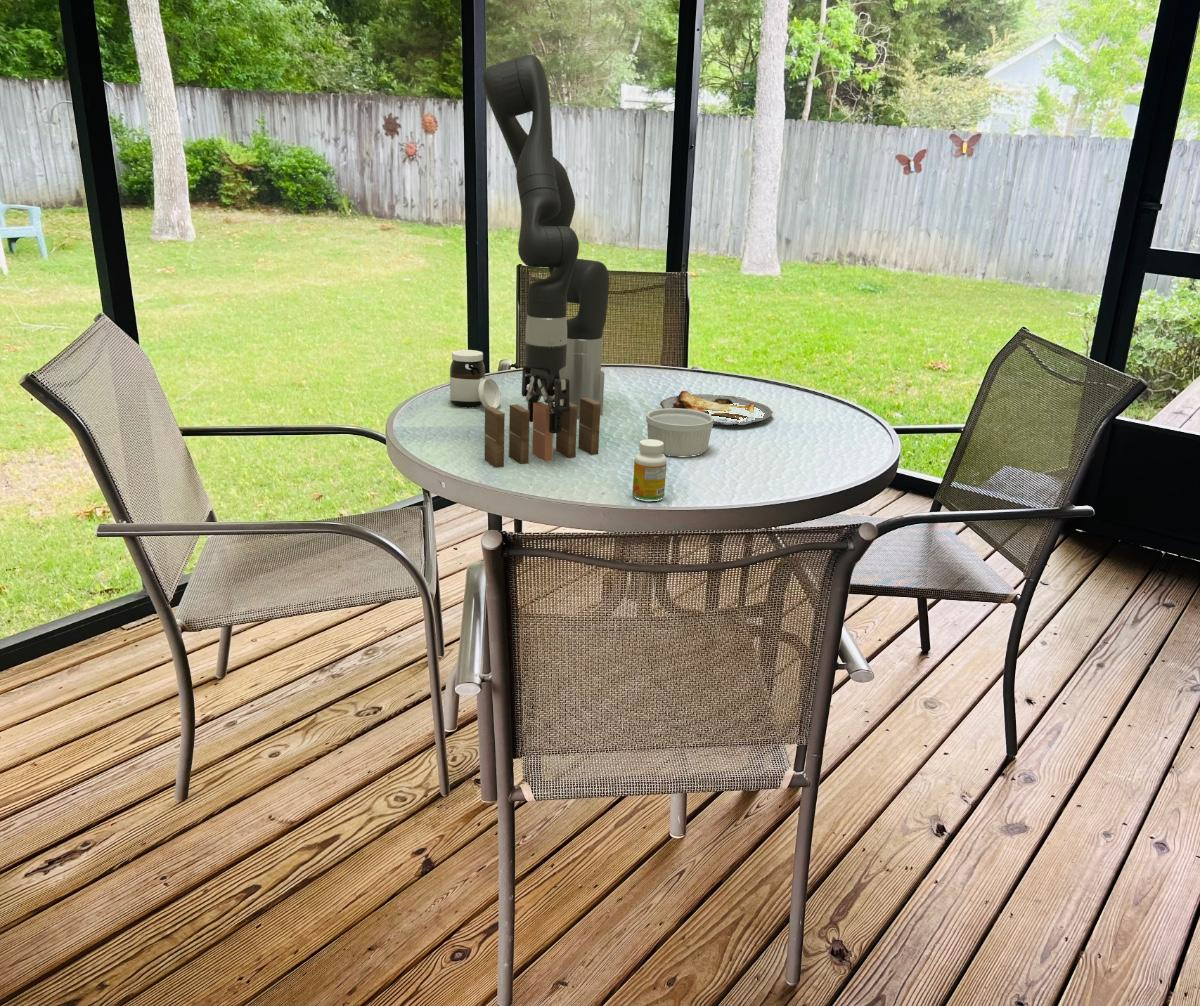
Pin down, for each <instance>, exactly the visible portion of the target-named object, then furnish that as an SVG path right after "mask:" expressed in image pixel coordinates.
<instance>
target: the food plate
mask: <svg viewBox="0 0 1200 1006" xmlns="http://www.w3.org/2000/svg"><path fill="white" fill-rule="evenodd" d="M691 393H692V392H689V391H687V390H681V391H680V393H679V394H678V395H676V396H675V395H674V396H670V397H668V398H665V399H663V400H661V401H660V403H659V404H660V406H661V409H666V408H680V409H690V410H696V411H701V412H704V413H707V414H709V412H708V411H705V410H712V411H724V412H726V410H727V409H728V410H727V411H728V412H729V411H731V409H729V407H737V408H745V410H747V411H749V413H750V414H751V413H754V407H756V408H758V409H760V410H761V411H762V412H763V413H765V414H764V416H763V418H755V420H752V419H750V420H747V421H746V422H740V423H739V422H731V421H728V422H727V421H714V422H713V424H714V425H713V426H716V425H715V424H718V425H719V424H722V425H723V426H736V425H735V424H738V425H737V426H739V425H741V426H743V425H745V426H746V425H747V424H751V423H755V422H760V421H761V422H762V421H763V420H767V419H769V417H771V416H772V414H774V411H773V410H772V409H771V407H769V406H768V405H765V404H763V403H760V402H758V401H757V402H756V401H754V400H750V399H748V398H744V397H739V396H735V395H718V394H706V393H705V394H703V393H702V394H700V393H699V394H697V393H695V394H694V393H693V394H691ZM733 403H739V405H745V406H737V404H736V405H734V404H733ZM730 404H733V405H730ZM746 408H747V409H746ZM725 409H726V410H725ZM760 410H759V411H760ZM711 416H719V417H726V418H731V419H737V420H740V419H739V417H742V418H743V419H744V418H746V417H747V416H743V415H739V414H729V413H714V414H711ZM735 416H736V417H735ZM761 416H762V415H761ZM750 421H751V422H750ZM733 424H734V425H733Z"/></svg>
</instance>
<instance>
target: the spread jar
mask: <svg viewBox="0 0 1200 1006" xmlns="http://www.w3.org/2000/svg"><path fill="white" fill-rule="evenodd" d="M451 359H452V362H451V363H450V368H449V392H450V394H449V396H450V398H449V399H450V403H451V405H453V406H454V407H457V408H462V407H467V408H466V409H472V407H474V408H480V407H482V406H483V407H484V409H485V408H486V407H494V408H496V409H498V407H499V406H500V403H501V396H502V395H501V392H500V388H499V385H498V383H497V382H496V381H495V380H494V379H493V378H491V377H490V378H489V377H488V378H486V368H485V367H486V366H485V364H484V353H483V351H479V350H475V349H474V350H473V349H459V350H453V351H452V353H451ZM479 406H480V407H479ZM470 407H471V408H470Z"/></svg>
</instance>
